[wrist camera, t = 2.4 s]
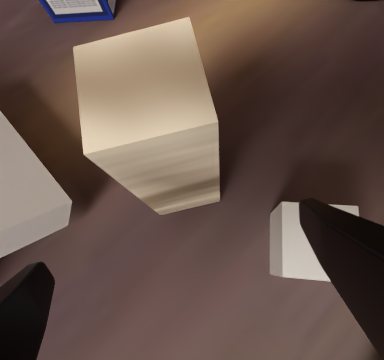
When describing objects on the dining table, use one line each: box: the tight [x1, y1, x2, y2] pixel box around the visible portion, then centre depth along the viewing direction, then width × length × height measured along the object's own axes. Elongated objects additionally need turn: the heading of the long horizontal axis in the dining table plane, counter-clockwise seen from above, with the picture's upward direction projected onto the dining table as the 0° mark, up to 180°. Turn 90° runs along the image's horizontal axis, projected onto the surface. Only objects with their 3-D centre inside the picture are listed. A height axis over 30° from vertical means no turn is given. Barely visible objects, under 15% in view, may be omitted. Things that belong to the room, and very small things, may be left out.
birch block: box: [73, 17, 220, 215], centre depth 17 cm, size 5×5×13 cm
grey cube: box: [270, 202, 359, 281], centre depth 18 cm, size 4×4×4 cm
